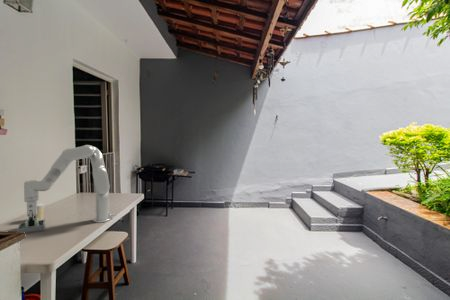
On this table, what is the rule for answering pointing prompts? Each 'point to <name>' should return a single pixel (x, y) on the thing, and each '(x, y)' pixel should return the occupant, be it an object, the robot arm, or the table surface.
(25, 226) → the box
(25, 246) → the table surface
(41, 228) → the large crate
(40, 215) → the coffee cup
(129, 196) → the table surface
